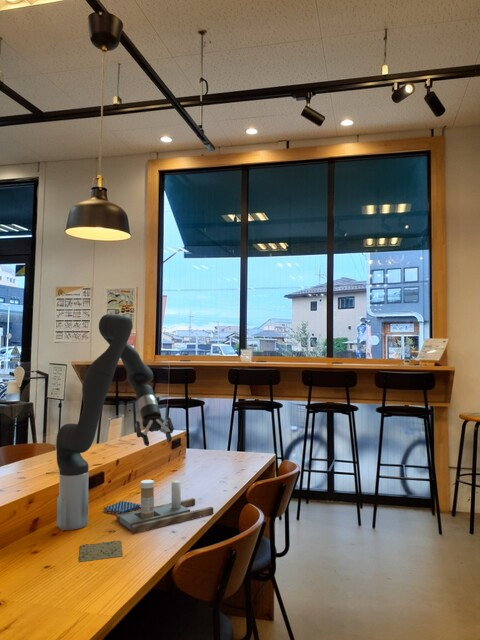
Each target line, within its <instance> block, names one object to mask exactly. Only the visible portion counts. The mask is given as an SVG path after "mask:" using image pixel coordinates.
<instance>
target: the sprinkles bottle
mask: <svg viewBox="0 0 480 640" xmlns="http://www.w3.org/2000/svg"><path fill="white" fill-rule="evenodd" d="M139 484H140V485H139V486H140V504H141V509H140V510H141V518H140V519H142V520H143V519H147V518H151V517H154V507H155V493H154V492H155V491H154V490H155V480H154V479H153V480H152V479H143V480H141V481H140V483H139Z"/></svg>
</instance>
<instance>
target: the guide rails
mask: <svg viewBox="0 0 480 640" xmlns="http://www.w3.org/2000/svg"><path fill="white" fill-rule="evenodd" d="M167 505H172V502H169V503H165V504H161V505H154V508H158V507H163V506H167ZM181 505H182V506H184V507H186V508H187V507H191V506H190V505H192V506H195V505H196V499H195V498H187V499H181ZM140 511H141V509H138V510H136V511H132V512H128V513H123V514H119V515H116V522H117V523H120V516H122V515H127V514H131V513H136V512H140ZM209 514H210V515H213V514H214V506H213V507H212V506H208V507H205V508H204V507H203V508H201V509H200V508H199V509H195V510H190V512H186V513H182V514H178V515H173V516H169V517H165V518H161V519H157V520H152V521H148V522H144V523H140V524H135V525H132V530H131V533H133V534H136V533H137V534H138V533H141V532H144V530H145V531H149V530H152V528H153V529H157V528H160V527H165V526H168V525H172V524H177V523H181V522H185V521H189V520H193V519H197V518H201V517H205V516H204V515H206V516H208V515H209ZM200 516H201V517H200ZM196 517H197V518H196ZM192 518H193V519H192ZM148 529H149V530H148Z"/></svg>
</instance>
